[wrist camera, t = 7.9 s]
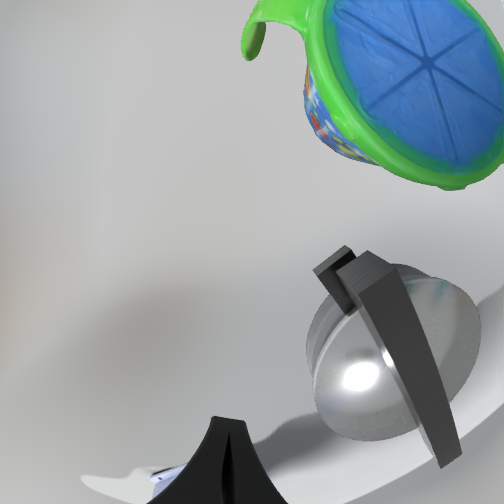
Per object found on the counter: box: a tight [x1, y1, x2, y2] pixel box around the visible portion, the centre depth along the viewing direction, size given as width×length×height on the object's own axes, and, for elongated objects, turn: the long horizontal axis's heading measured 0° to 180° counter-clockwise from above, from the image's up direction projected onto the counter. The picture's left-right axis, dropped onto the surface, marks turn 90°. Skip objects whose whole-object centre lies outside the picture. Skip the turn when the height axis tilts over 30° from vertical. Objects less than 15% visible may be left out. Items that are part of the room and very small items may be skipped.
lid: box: [313, 250, 481, 468], centre depth 16 cm, size 18×13×4 cm
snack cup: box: [241, 0, 504, 191], centre depth 13 cm, size 16×10×10 cm
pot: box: [306, 245, 430, 377], centre depth 20 cm, size 18×12×4 cm, turn 38°
